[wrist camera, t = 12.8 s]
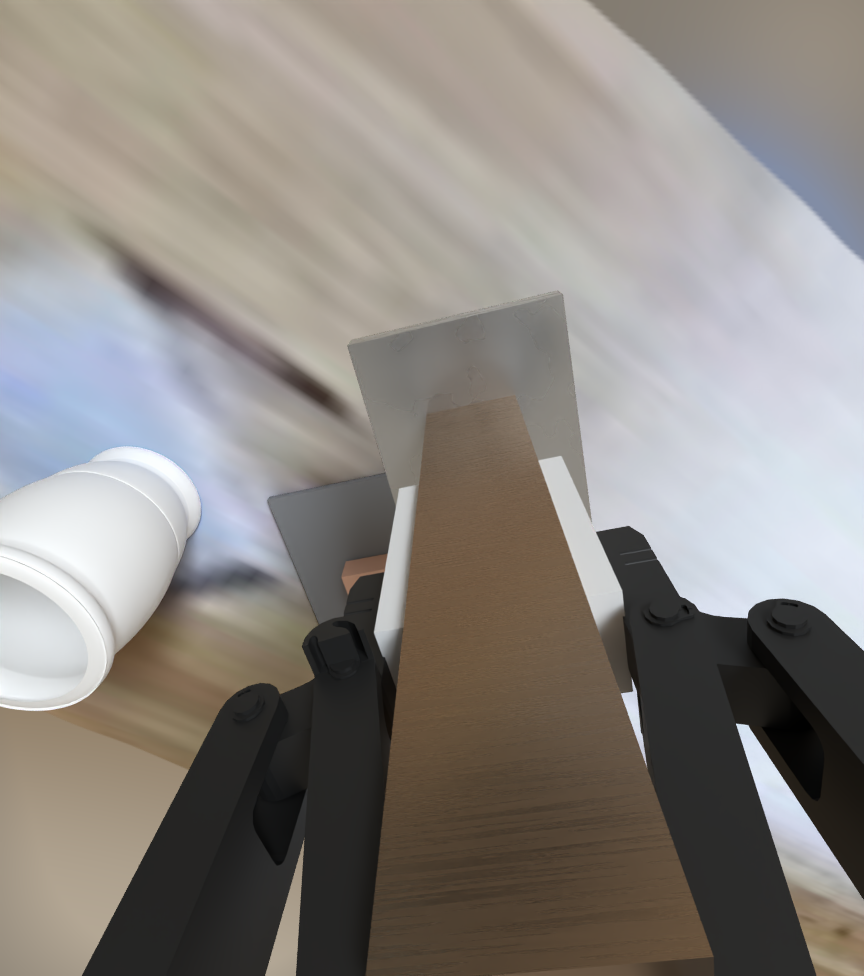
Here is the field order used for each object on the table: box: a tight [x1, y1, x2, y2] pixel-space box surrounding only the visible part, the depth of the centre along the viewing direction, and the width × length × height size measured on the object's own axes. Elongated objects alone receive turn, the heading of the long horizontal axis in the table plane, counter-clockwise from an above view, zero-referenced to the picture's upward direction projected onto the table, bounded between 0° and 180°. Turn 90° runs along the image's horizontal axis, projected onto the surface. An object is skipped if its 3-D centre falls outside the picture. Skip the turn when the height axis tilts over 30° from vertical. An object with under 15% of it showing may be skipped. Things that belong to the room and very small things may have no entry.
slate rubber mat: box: [267, 473, 396, 625], centre depth 44 cm, size 20×17×1 cm
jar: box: [0, 446, 201, 711], centre depth 34 cm, size 11×10×15 cm
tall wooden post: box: [347, 291, 714, 976], centre depth 15 cm, size 10×8×19 cm
